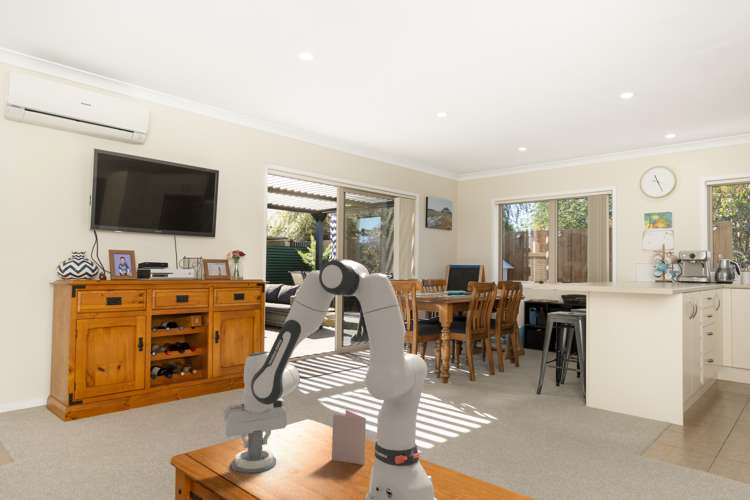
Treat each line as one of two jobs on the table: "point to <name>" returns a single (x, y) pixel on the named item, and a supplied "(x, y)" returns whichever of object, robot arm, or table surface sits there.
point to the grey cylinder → (255, 446)
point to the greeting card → (348, 438)
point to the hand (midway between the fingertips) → (255, 445)
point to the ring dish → (253, 462)
